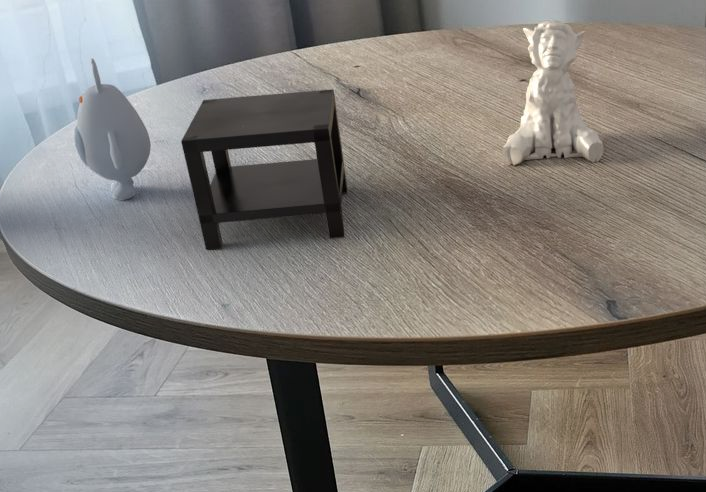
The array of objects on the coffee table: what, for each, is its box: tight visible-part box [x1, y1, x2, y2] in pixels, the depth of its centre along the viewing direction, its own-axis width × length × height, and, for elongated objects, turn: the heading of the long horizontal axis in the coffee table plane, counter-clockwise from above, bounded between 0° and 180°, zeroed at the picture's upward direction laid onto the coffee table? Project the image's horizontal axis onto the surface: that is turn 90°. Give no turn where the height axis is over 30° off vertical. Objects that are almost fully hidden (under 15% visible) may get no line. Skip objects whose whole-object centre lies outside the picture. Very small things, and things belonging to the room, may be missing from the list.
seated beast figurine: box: [500, 19, 605, 167], centre depth 90 cm, size 10×9×12 cm
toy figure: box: [73, 58, 152, 201], centre depth 85 cm, size 11×6×12 cm, turn 23°
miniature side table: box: [180, 89, 348, 251], centre depth 79 cm, size 11×11×9 cm
